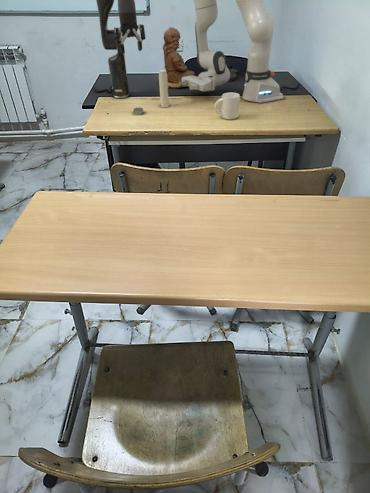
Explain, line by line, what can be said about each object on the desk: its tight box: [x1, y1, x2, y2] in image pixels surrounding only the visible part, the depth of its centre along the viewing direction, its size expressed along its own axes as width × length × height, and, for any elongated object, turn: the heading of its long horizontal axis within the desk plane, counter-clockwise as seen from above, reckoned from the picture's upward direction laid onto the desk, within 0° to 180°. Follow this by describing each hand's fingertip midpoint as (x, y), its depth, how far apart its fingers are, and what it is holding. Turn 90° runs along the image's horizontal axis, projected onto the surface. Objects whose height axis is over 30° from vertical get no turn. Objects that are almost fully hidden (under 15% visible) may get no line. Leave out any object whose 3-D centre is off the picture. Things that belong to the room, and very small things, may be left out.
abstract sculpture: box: [201, 64, 239, 82], centre depth 227 cm, size 25×9×20 cm
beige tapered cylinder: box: [158, 69, 170, 108], centre depth 186 cm, size 4×4×18 cm
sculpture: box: [157, 27, 196, 89], centre depth 214 cm, size 27×24×30 cm
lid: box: [133, 107, 144, 116], centre depth 184 cm, size 5×5×2 cm
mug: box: [214, 92, 241, 120], centre depth 173 cm, size 12×8×10 cm
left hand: (131, 51), depth 166 cm, fingers open, 8 cm apart
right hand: (184, 86), depth 192 cm, fingers open, 8 cm apart
